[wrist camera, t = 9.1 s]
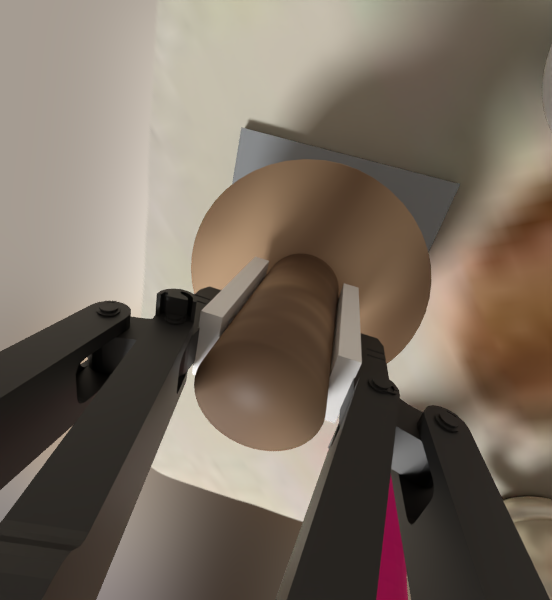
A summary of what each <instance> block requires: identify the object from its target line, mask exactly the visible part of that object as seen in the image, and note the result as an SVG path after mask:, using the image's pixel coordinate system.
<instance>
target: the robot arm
mask: <svg viewBox="0 0 552 600" xmlns="http://www.w3.org/2000/svg"><path fill="white" fill-rule="evenodd" d="M268 264H269V261H268V260H265V259H262V258H258V257H255V258H253V259H252V260H251V261H250V262H249V263H248V264H247V265H246V266H245V267H244V268H243V269H242V270H241V271H240V272H239V273H238V274H237V275H236V276H235V277H234V278H233V279H232V280H231V281H230V282H229V283H228V284H227V285H226V286H225V287H224V288H223V289H222V290H219V289H216V288H213V287H210V286H209V287H206V288H203V289H200V290H199V291H198V292H196V293H195V294H192V293H191V292H188V291H185V290H181V289H166V290H162V291H160V292H159V293H157V301H156V315H155V316H154V318H153V319H145V318H136V317H131V316H130V315H131V309H130V308H129V307H128V306H127V305H125V304H123V303H120V302H116V301H104V302H98V303H95V304H92V305H90V306H88V307H86V308H84V309H82V310H80V311H78V312H76V313H74V314H73V315H71V316H69V317H67V318H65V319H63V320H61V321H59V322H57V323H55V324H53V325H51V326H50V327H47V328H45V329H43V330H41V331H40V332H38V333H36V334H34V335H32V336H30V337H28V338H26V339H24V340H22V341H20V342H18V343H16V344H14V345H12V346H10V347H9V348H6V349H4V350H2V351H1V352H0V490H1V489H2V488H3V487H4V486H5V485H6V484H8V482H10V481H11V480H12V479H13V478H14V477H15V476H16V475H18V474H19V473H20V472H21V471H22V470H23V469H24V468H25V467H27V466H28V465H29V464H30V463H31V462H32V461H33V460H34V459H36V458H37V457H38V456H39V455H40V454H41V453H42V452H43V451H44V450H46V448H48V447H49V446H50V445H51V444H52V443H54V442H55V441H56V440H57V439H58V438H59V437H60V436H61V435H62V434H64V433H65V432H66V431H67V430H68V429H69V428H70V427H71V426H72V428H71V429H70V430H69V432H68V433H67V434H66V436H65V437H64V438H63V440H62V441H61V442H60V444H59V445H58V447H57V448H56V449H55V451H54V452H53V453H52V455H51V456H50V457H49V459H48V460H47V461H46V463H45V464H44V466H43V467H42V468H41V469H40V471H39V472H38V473H37V475H36V476H35V477H34V479H33V480H32V481H31V483H30V484H29V485H28V487H27V488H26V490H25V491H24V492H23V493H22V495H21V496H20V498H19V499H18V500H17V502H16V503H15V504H14V506H13V507H12V508H11V510H10V511H9V512H8V514H7V515H6V516H5V518H4V519H3V520H2V521H1V523H0V600H96V599H97V596H98V594H99V591H100V589H101V586H102V584H103V582H104V579H105V577H106V574H107V572H108V569H109V567H110V564H111V562H112V560H113V557H114V555H115V552H116V550H117V548H118V545H119V543H120V540H121V538H122V535H123V533H124V531H125V528H126V526H127V523H128V521H129V518H130V516H131V513H132V511H133V509H134V506H135V504H136V501H137V499H138V496H139V494H140V492H141V489H142V487H143V484H144V482H145V479H146V477H147V475H148V472H149V470H150V467H151V465H152V463H153V460H154V458H155V455H156V453H157V450H158V448H159V446H160V443H161V441H162V438H163V436H164V433H165V431H166V429H167V426H168V424H169V421H170V419H171V416H172V414H173V412H174V409H175V407H176V404H177V402H178V399H179V397H180V395H181V392H182V390H183V387H184V385H185V382H186V378H187V371H188V369H189V368H190V367H191V365H192V364H193V370H192V374H193V375H196V371H197V369H198V367H199V365H200V363H201V362H202V360H203V359H204V358H205V356H206V355H207V354H208V352H209V351H210V350H211V348H212V347H213V346H214V344H215V343H216V342H217V340H218V339H219V338H220V336H221V335H222V334H223V332H224V331H225V330H226V328H227V327H228V326H229V324H230V323H231V322H232V320H233V319H234V318H235V316H236V315H237V314H238V312H239V311H240V310H241V308H242V307H243V306H244V304H245V303H246V302H247V300H248V299H249V298H250V296H251V295H252V294H253V292H254V291H255V290H256V288H257V287H258V286H259V284H260V283H261V282H262V280H263V279H264V278H265V276H266V273H267V268H268ZM86 357H88V360H87V361H85V362H84V363H82V364H80V363H81V362H82V361H83V360H84V359H85V358H86ZM399 397H400V394H399V390H398V388H397V387H396V385H395V384H394V383H393V382H392V381H390V380H389V376H388V370H387V364H386V358H385V352H384V346H383V345H382V344H381V342H380V341H379V340H378V338H375V337H372V336H368V335H365V334H362V333H361V332H360V309H359V288H358V287H355V286H352V285H348V284H345V283H344V284H343V287H342V290H341V292H340V295H339V298H338V304H337V314H336V323H335V333H334V342H333V351H332V361H331V370H330V379H329V389H328V398H327V408H326V415H325V419H324V420H326V421H329V422H332V423H336V420H337V418H338V416H339V414H340V418H339V424H338V426H337V429H336V431H335V433H334V435H333V438H332V440H331V442H330V444H329V447H328V448H329V450H328V453H327V456H326V459H325V462H324V464H323V467H322V470H321V473H320V476H319V479H318V481H317V484H316V487H315V490H314V493H313V496H312V498H311V501H310V504H309V507H308V510H307V512H306V515H305V518H304V521H303V524H302V527H301V529H300V532H299V535H298V538H297V541H296V544H295V546H294V549H293V552H292V555H291V558H290V561H289V563H288V566H287V569H286V572H285V575H284V578H283V581H282V583H281V586H280V589H279V592H278V595H277V597H276V600H376V598H377V589H378V580H379V572H380V563H381V554H382V545H383V537H384V528H385V519H386V511H387V502H388V493H389V484H390V476H391V478H392V484H393V490H394V496H395V502H396V509H397V515H398V521H399V527H400V533H401V539H402V545H403V552H404V558H405V564H406V570H407V576H408V582H409V587H410V594H411V600H550V598H549V596H548V594H547V592H546V590H545V588H544V585H543V583H542V581H541V579H540V577H539V575H538V573H537V571H536V569H535V567H534V564H533V562H532V560H531V558H530V556H529V554H528V552H527V550H526V548H525V546H524V543H523V541H522V539H521V537H520V535H519V533H518V531H517V529H516V527H515V525H514V522H513V520H512V518H511V516H510V514H509V512H508V510H507V508H506V506H505V504H504V501H503V499H502V497H501V495H500V493H499V491H498V489H497V487H496V485H495V483H494V480H493V478H492V476H491V474H490V472H489V470H488V468H487V466H486V464H485V462H484V459H483V457H482V455H481V453H480V451H479V449H478V447H477V445H476V443H475V441H474V438H473V436H472V434H471V432H470V430H469V428H468V427H467V425H466V424H465V423H464V422H463V421H462V420H461V419H460V418H459V417H458V416H457V415H456V414H454V413H452V412H451V411H449V410H447V409H445V408H442V407H439V406H428V407H427V408H426V409H425V410H424V412H421V411H419V410H417V409H415V408H413V407H412V406H410V405H408V404H407V403H405V402H404V401H402V400H401V399H400V398H399Z"/></svg>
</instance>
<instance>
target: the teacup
mask: <svg viewBox="0 0 552 600" xmlns="http://www.w3.org/2000/svg"><path fill="white" fill-rule="evenodd" d="M542 100H543V108H544V112H545V116H546V119H547V122H548V125H549V128H550V130H551V131H552V44H551V47H550V50H549V53H548V57H547V60H546V64H545V68H544V75H543V83H542Z"/></svg>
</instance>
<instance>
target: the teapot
mask: <svg viewBox="0 0 552 600" xmlns="http://www.w3.org/2000/svg"><path fill="white" fill-rule="evenodd" d="M503 501H504V504H505V506H506V508H507V510H508V512H509V514H510V516H511V518H512V520H513V522H514V525H515V527H516V529H517V531H518V533H519V535H520V537H521V539H522V541H523V543H524V546H525V548H526V550H527V552H528V554H529V556H530V558H531V560H532V562H533V564H534V567H535V569H536V571H537V573H538V575H539V577H540V579H541V581H542V583H543V585H544V588H545V590H546V592H547V594H548V596H549V598H550V600H552V499H548V498H543V497H534V496H523V497H514V498H509V499H505V500H503Z"/></svg>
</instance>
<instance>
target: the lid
mask: <svg viewBox="0 0 552 600" xmlns="http://www.w3.org/2000/svg"><path fill="white" fill-rule="evenodd" d="M255 257H258V258H262V259H265V260H268V261H269V264H268V268H267V273H266V276H265V278H264V279H263V280H262V282H261V283H260V284H259V286H258V287H257V288H256V290H255V291H254V292H253V294H252V295H251V296H250V298H249V299H248V300H247V302H246V303H245V304H244V306H243V307H242V308H241V310H240V311H239V312H238V314H237V315H236V316H235V318H234V319H233V320H232V322H231V323H230V324H229V326H228V327H227V328H226V330H225V331H224V332H223V334H222V335H221V336H220V338H219V339H218V340H217V342H216V343H215V344H214V346H213V347H212V348H211V350H210V351H209V352H208V354H207V355H206V356H205V358H204V359H203V360H202V362H201V363H200V365H199V367H198V369H197V371H196V375H195V382H194V388H195V395H196V399H197V402H198V404H199V406H200V408H201V410H202V412H203V414H204V415H205V417H206V418H207V419H208V420H209V422H210V423H211V424H212V425H213V426H214V427H215V428H216V429H217V430H218V431H220V432H221V433H222V434H224V435H225V436H227V437H228V438H230V439H231V440H233V441H235V442H237V443H239V444H242V445H244V446H247V447H250V448H254V449H258V450H265V451H283V450H289V449H293V448H296V447H299V446H301V445H303V444H305V443H306V442H308V441H309V440H311V439H312V438H313V437H314V436H315V435H316V434H317V433H318V431H319V430H320V428H321V427H322V425H323V422H324V419H325V415H326V408H327V398H328V389H329V379H330V370H331V361H332V351H333V342H334V333H335V323H336V314H337V304H338V298H339V295H340V292H341V290H342V287H343V284H344V283H345V284H348V285H352V286H355V287H358V288H359V309H360V332H361V333H362V334H365V335H368V336H372V337H375V338H378V340H379V341H380V342H381V344H382V345H383V346H384V352H385V358H386V364H387V363H388V362H390V361H391V360H392V359H393V358H395V357H396V356H397V355H398V354H399V353H400V352H401V351H402V350H403V349H404V348H405V346H406V345H407V344H408V343H409V342H410V340H411V339H412V338H413V336H414V334H415V333H416V331H417V329H418V328H419V326H420V324H421V321H422V319H423V317H424V315H425V312H426V308H427V305H428V301H429V297H430V288H431V265H430V259H429V254H428V249H427V246H426V243H425V240H424V238H423V235H422V232H421V230H420V228H419V227H418V225H417V223H416V221H415V219H414V217H413V216H412V215H411V213H410V212H409V211H408V209H407V208H406V207H405V205H404V204H403V203H402V202H401V201H400V200H399V199H398V198H397V197H396V196H395V195H394V194H393V193H392V192H391V191H390V190H389V189H388V188H387V187H385V186H384V185H383V184H381V183H380V182H379V181H377V180H376V179H374V178H373V177H371V176H369V175H367V174H365V173H364V172H362V171H360V170H358V169H355V168H352V167H350V166H347V165H344V164H341V163H336V162H331V161H326V160H311V159H301V160H290V161H283V162H279V163H275V164H271V165H268V166H265V167H262V168H260V169H257V170H255V171H253V172H251V173H249V174H247V175H246V176H244V177H242V178H240V179H239V180H237V181H236V182H235V183H234V184H232V185H231V186H230V187H229V188H227V189H226V190H225V191H224V192H223V193H222V194H221V195H220V196H219V197H218V199H217V200H216V201H215V202H214V203H213V205H212V206H211V208H210V209H209V210H208V212H207V213H206V215H205V217H204V219H203V221H202V223H201V225H200V227H199V230H198V233H197V236H196V239H195V242H194V247H193V252H192V263H191V273H192V284H193V289H194V294H195V293H196V292H198V291H199V290H200V289H203V288H206V287H209V286H210V287H213V288H216V289H219V290H222V289H223V288H224V287H225V286H226V285H227V284H228V283H229V282H230V281H231V280H232V279H233V278H234V277H235V276H236V275H237V274H238V273H239V272H240V271H241V270H242V269H243V268H244V267H245V266H246V265H247V264H248V263H249V262H250V261H251V260H252V259H253V258H255Z"/></svg>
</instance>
